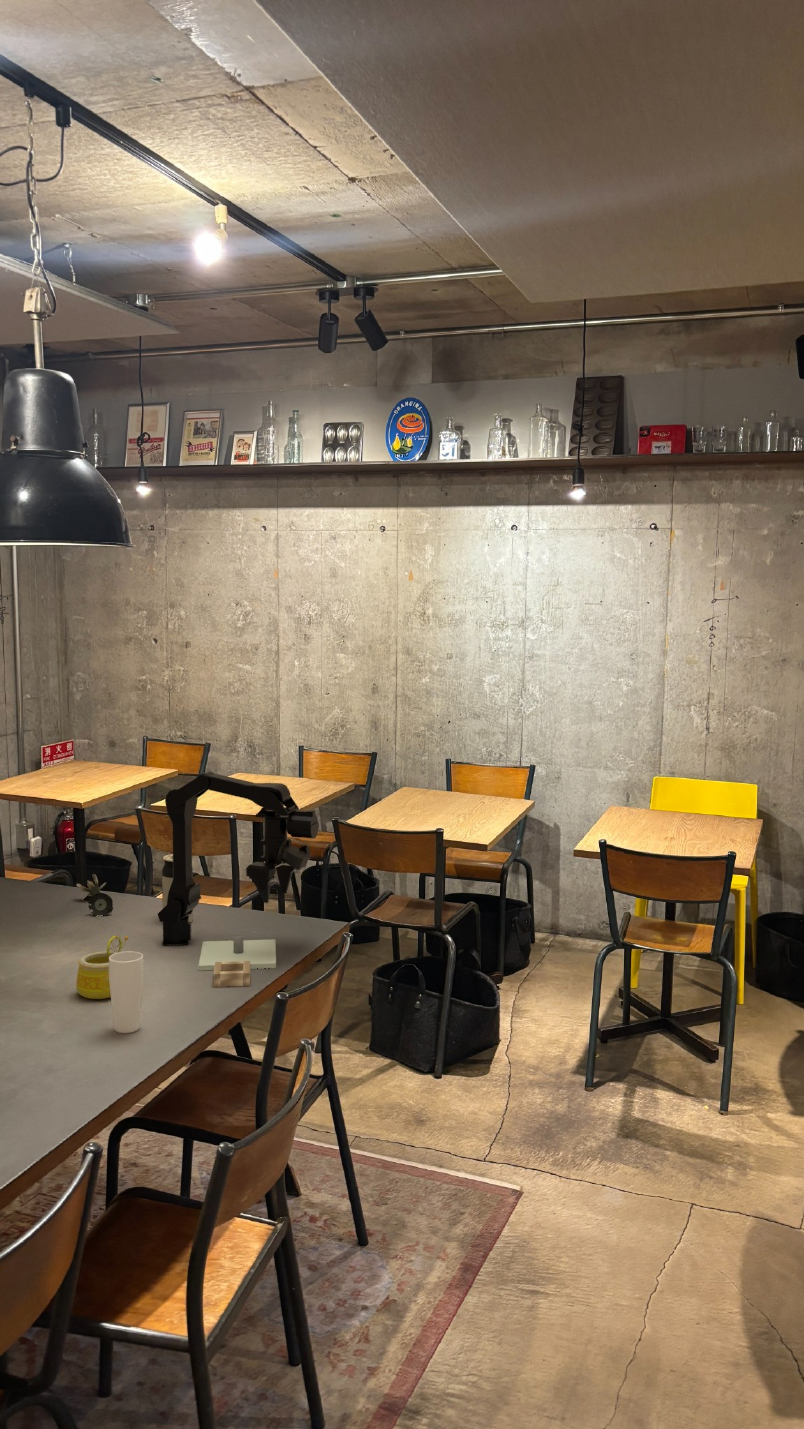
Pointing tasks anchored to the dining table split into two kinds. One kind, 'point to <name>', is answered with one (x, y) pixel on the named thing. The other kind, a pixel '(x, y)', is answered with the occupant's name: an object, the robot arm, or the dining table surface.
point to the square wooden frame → (231, 974)
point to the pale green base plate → (238, 953)
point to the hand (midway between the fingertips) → (275, 897)
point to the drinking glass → (126, 990)
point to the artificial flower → (97, 898)
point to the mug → (96, 972)
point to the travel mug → (169, 880)
